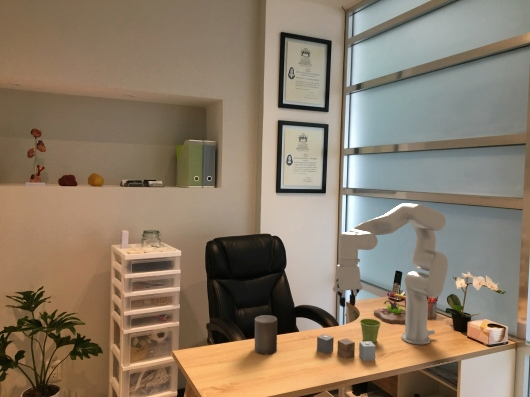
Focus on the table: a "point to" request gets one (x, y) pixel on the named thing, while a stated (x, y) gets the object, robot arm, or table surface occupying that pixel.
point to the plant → (391, 313)
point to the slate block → (367, 350)
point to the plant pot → (370, 329)
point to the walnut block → (346, 348)
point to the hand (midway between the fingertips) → (347, 305)
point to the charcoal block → (325, 343)
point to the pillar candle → (265, 334)
